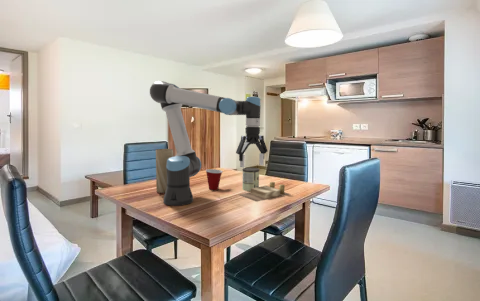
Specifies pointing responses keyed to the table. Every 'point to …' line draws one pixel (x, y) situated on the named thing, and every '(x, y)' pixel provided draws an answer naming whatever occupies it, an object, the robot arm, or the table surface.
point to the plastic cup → (213, 178)
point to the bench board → (257, 198)
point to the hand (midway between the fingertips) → (252, 166)
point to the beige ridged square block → (265, 191)
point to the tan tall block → (162, 168)
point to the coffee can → (250, 178)
